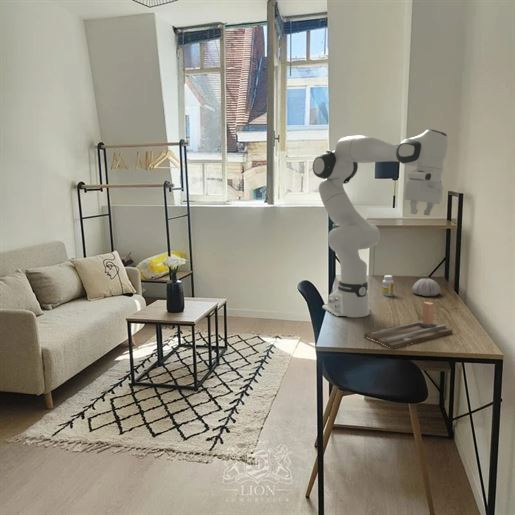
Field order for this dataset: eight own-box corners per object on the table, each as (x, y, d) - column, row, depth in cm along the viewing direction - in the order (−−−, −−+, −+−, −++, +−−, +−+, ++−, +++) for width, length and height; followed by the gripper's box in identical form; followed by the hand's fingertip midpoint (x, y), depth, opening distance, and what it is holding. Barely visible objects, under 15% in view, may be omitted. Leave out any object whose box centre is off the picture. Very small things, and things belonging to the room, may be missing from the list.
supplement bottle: (391, 293, 234) (391, 274, 232) (394, 296, 229) (395, 276, 227) (380, 293, 234) (381, 274, 232) (384, 296, 229) (384, 277, 227)
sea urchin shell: (430, 299, 222) (431, 282, 221) (406, 294, 232) (406, 278, 231) (445, 294, 230) (446, 278, 229) (420, 289, 241) (421, 274, 239)
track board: (364, 337, 172) (364, 330, 171) (423, 323, 186) (423, 317, 186) (391, 349, 160) (391, 342, 159) (452, 333, 174) (452, 326, 174)
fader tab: (418, 325, 178) (419, 302, 177) (426, 323, 180) (427, 300, 179) (429, 328, 174) (430, 305, 172) (436, 327, 176) (437, 303, 174)
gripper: (433, 178, 174) (426, 214, 176) (405, 172, 160) (397, 211, 162) (449, 180, 169) (441, 217, 172) (421, 174, 155) (413, 214, 158)
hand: (420, 214), depth 167 cm, fingers open, 8 cm apart
